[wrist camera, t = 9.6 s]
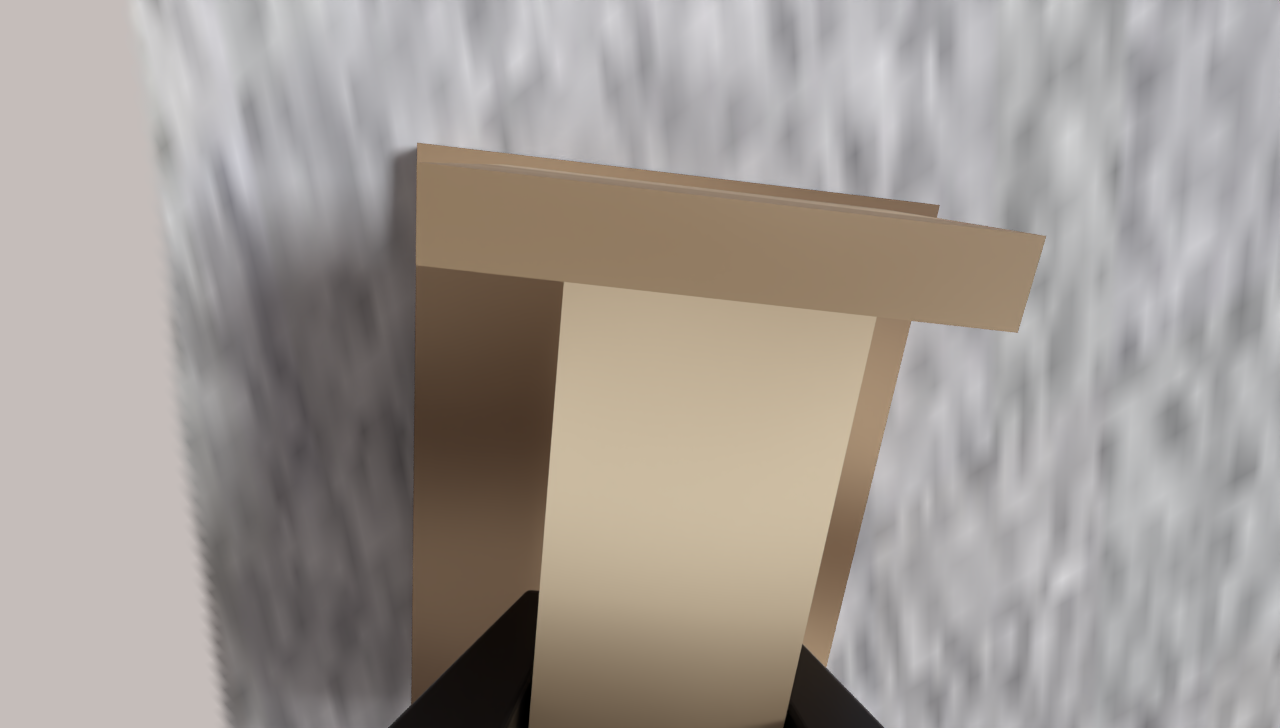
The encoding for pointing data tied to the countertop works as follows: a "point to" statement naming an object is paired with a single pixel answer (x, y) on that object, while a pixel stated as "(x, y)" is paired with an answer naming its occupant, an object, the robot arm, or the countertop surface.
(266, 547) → the countertop surface
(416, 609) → the trivet
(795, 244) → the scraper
